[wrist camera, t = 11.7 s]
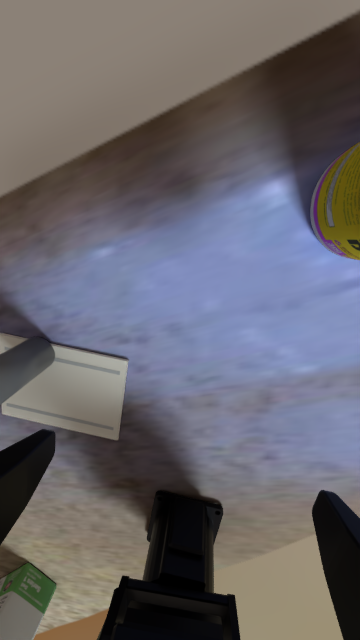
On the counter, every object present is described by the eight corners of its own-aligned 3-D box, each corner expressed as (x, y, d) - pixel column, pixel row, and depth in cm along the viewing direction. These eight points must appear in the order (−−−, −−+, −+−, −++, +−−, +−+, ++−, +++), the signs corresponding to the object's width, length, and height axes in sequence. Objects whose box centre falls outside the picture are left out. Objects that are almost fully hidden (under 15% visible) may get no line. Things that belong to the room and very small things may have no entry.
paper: (118, 438, 24) (117, 441, 23) (4, 412, 24) (1, 414, 24) (128, 359, 21) (127, 361, 21) (1, 332, 22) (-2, 334, 22)
